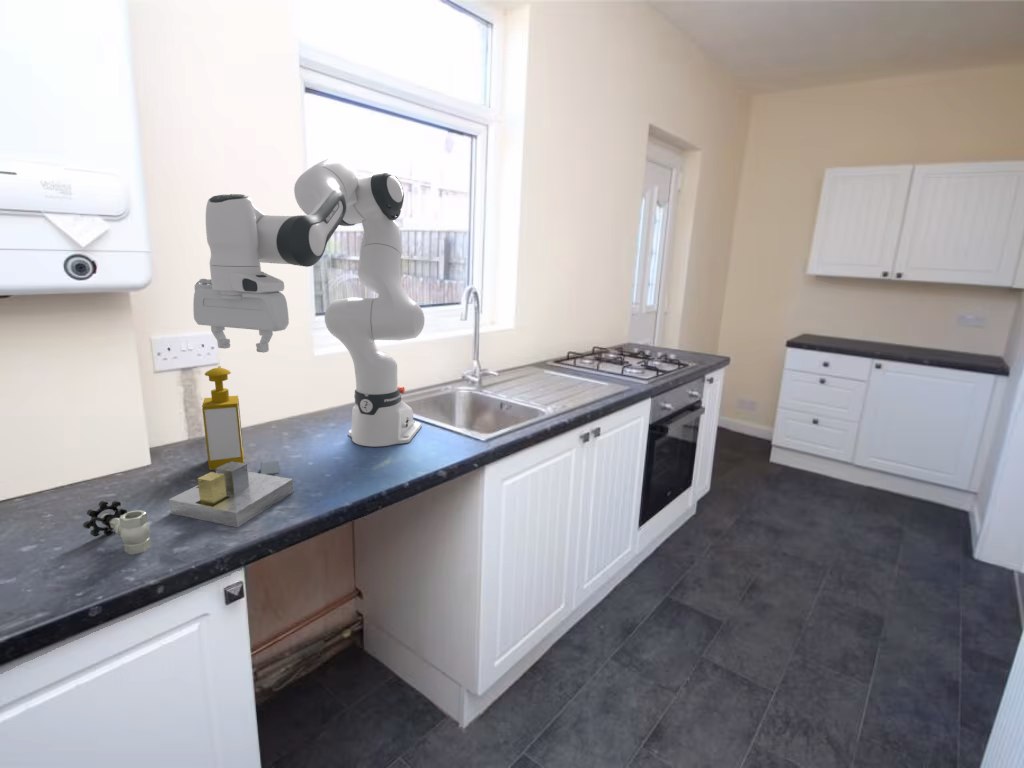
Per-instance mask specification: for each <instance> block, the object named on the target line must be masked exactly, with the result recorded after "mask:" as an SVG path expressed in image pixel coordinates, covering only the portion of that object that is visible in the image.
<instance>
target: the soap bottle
mask: <svg viewBox="0 0 1024 768" xmlns="http://www.w3.org/2000/svg"><path fill="white" fill-rule="evenodd" d="M230 374H232V372H231V371H230V370H228V369H226V368H222V366H221V365H218V366H217V367H213V368H210V369H209V370H207V371H206V372H205V373H204V376H206V377H208V380H209V382H214V385H215V388H214V389H212V390H210V395H211V397H204V398H203V402H202V405H201V407H202V417H203V418H202V419H203V427H204V437H205V445H206V451H207V452H206V454H207V461H208V469H209V471H213V470H216V468H218V467H220V466H222V465H224V464H226V463H228V462H230V461H232V462H238V463H244V462H245V454H244V444H243V442H244V441H243V432H242V431H243V430H242V422H241V412H240V411H241V410H240V403H239V402H240V401H239V395H230V394H229V389H228V388H225V387H224V383H223V382H224V381H227V380H228V379H229V378H228V375H230ZM244 464H245V463H244Z"/></svg>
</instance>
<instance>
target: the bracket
mask: <svg viewBox="0 0 1024 768" xmlns="http://www.w3.org/2000/svg"><path fill="white" fill-rule="evenodd" d="M260 474H266V475H272V476H277V477H281V476H280V461H278V460H274V461H266V462H260Z"/></svg>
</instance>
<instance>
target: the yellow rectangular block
mask: <svg viewBox="0 0 1024 768" xmlns="http://www.w3.org/2000/svg"><path fill="white" fill-rule="evenodd" d="M197 485H198V487H199V495H200V504H202V505H207V506H212V507H214V506H215V505H217V504H219V503H221V502H223V501H224V500H226V499H227V496H226V487H225V477H224V474H219V473H216V472H214V471H210V472H208V473H205V474H204V475H202V476H200V477H198V478H197Z"/></svg>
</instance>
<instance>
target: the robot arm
mask: <svg viewBox="0 0 1024 768" xmlns="http://www.w3.org/2000/svg"><path fill="white" fill-rule="evenodd" d="M293 188H294V189H293V191H294V197H295V201H296V203H297V206H298V207H299V208H300V210H301V211H302V212H304V214H303V215H268V214H266V213H264V212H262V211H261V210H259V209H258V208H257V207H256V206H255V205H254V204H253V201H252V198H251V197H250V196H248V195H246V194H235V193H233V194H232V193H231V194H217V195H213V196H211V198H208V200H207V203H206V206H205V232H206V241H207V245H208V247H209V250H210V259H209V270H210V279H209V278H208V279H207V278H200V279H199V280H198V281H197V282H196V283H195V284H194V293H193V305H192V306H193V309H192V310H193V311H192V312H193V319H194V321H195V322H196V324H197V325H199V326H200V325H201V326H207V327H208V326H209V327H210V330H211V331H210V332H211V333H212V335H213V337H214V339H216V341H217V343H216V344H217V348H218V349H225V350H226V349H229V348H230V347H231V344H230V342H231V340H230V338H227V336H226V335H225V332H224V331H225V329H226V328H232V329H243V330H255V331H258V334H259V336H260V337H261V338H260V340H259V342H257V343H255V347H256V352H258V353H268V352H269V350H270V349H269V343H270V341H271V339H272V337H273V333H274V332H282V331H285V330H286V329H287V327H288V326H289V324H290V323H289V321H290V319H289V309H288V301H287V299H286V296H285V295H284V294H283V293H282V292H283V291H284V290H285V282H284V281H283V280H282V279H280V278H277V277H275V276H273V275H270V274H268V273H267V272H264V271H262V268H261V267H262V266H261V264H262V263H263V264H266V263H267V264H280V265H281V264H282V265H283V264H284V265H293V266H299V267H306V268H307V267H308V268H309V267H312V266H314V265H316V263H318V262H319V261H320V259H322V257H323V255H324V253H325V250H326V247H327V246H328V245H327V244H328V242H329V240H330V239H331V237H332V236H333V234H335V231H336V230H337V228H338V227H339V226H341V227H351V226H355V225H358V224H361V225H362V227H363V228H362V230H363V234H362V238H361V243H360V250H359V261H358V267H357V268H358V269H357V270H358V271H357V276H358V279H359V281H360V283H362V285H363V286H364V287H365V288H367V289H369V290H370V291H372V292H374V293H376V294H378V297H374V298H373V297H372V298H371V297H346V298H339V299H334V300H331V301H330V303H329V304H328V306H327V307H326V309H325V312H324V323H325V327H326V329H327V330H328V331H329V332H330V334H331V335H332V336H333V337H335V338H336V339H338V340H339V341H340V342H341V343H342V344H343V345H344V347H346V350H347V351H348V352H349V355H350V357H351V359H352V363H353V367H354V374H355V388H356V389H355V390H354V403H355V405H354V406H353V407H352V411H351V413H352V414H351V427H350V429H349V430H348V432H347V433H348V436H349V437H351V441H352V442H353V443H355V444H356V445H359V446H363V447H364V446H365V447H376V448H377V447H386V446H393V445H399V444H408V443H410V442H411V441H412V439H413V438H414V437H415V435H416V434H417V433H418V431H420V430H421V428H422V423H421V422H419V421H416V420H414V410H413V409H412V407H411V406H409V405H408V404H407V403H406V402H404V401H403V400H402V394H405V392H406V388H405V386H399V384H398V383H399V382H398V380H399V379H398V363H397V361H396V359H395V358H394V357H393V356H391V355H390V354H388V353H386V352H384V351H382V350H381V349H379V347H378V346H377V345H376V343H375V341H376V340H378V341H381V340H382V341H403V340H409V339H416V338H417V337H419V335H420V334H421V333H422V330H423V329H424V326H425V315H424V314H425V313H424V312H423V311H424V310H423V309H422V307H421V306H420V305H419V304H418V303H417V302H416V301H415V300H413V299H412V297H410V296H409V295H408V294H407V292H406V291H405V289H404V286H403V284H402V279H401V276H402V275H401V262H402V236H401V230H400V226H399V224H398V223H397V222H396V220H397V219H399V217H400V215H401V213H402V208H403V205H404V201H405V200H404V197H405V194H404V188H403V185H402V183H401V181H400V179H398V177H397V176H396V175H395V174H394V173H392V172H390V171H385V170H383V171H376V172H373V173H371V174H367V175H362V176H358V173H357V170H356V168H355V167H354V166H353V164H351V163H350V162H349V161H348V160H346V159H344V158H341V157H331V158H327V159H324V160H322V161H320V162H318V163H317V164H314V165H313V166H311V167H309V168H308V169H307V170H305V171H304V172H303V173H302V174H301V175H300V176H299V177H298V178H297V179H296V182H295V183H294V187H293ZM329 332H328V333H329Z"/></svg>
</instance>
